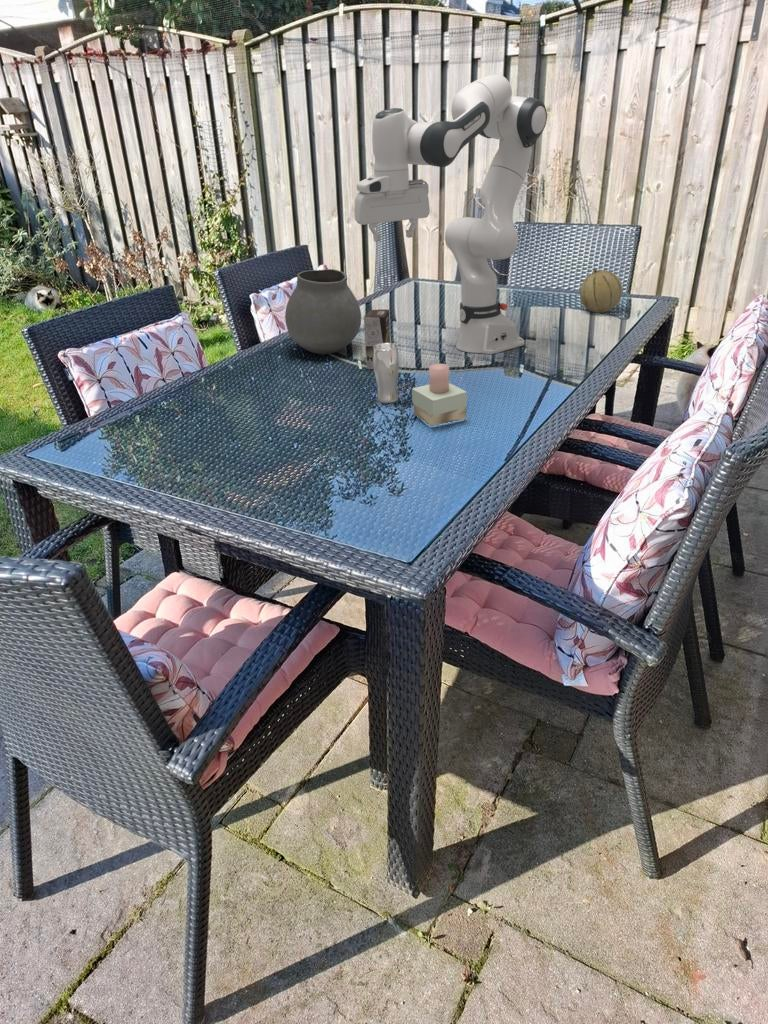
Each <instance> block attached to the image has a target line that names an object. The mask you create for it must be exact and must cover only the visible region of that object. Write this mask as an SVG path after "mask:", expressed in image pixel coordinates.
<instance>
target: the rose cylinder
mask: <svg viewBox="0 0 768 1024" xmlns="http://www.w3.org/2000/svg"><path fill="white" fill-rule="evenodd" d="M428 370H429V372H428V373H429V374H428V375H429V379H428V383H429V391H430V392H432V393H446V392H448V391H449V383H450V366H449V364H445V363H434V364H431V365H429V367H428Z"/></svg>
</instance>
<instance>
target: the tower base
mask: <svg viewBox="0 0 768 1024" xmlns="http://www.w3.org/2000/svg"><path fill="white" fill-rule="evenodd" d="M414 414H415V415H416V416H418V417H419V418H420V419H422V420H423V421H425V422H426V423H427V424H429V425H430V426H434V425H439V424H443V423H448V422H453V421H459V420H463V419H466V420H467V407H464V408H460V409H457V410H453V411H449V412H446V413H442V414H438V415H435V416H433V415H431V414H429V413H428V412H426V411H424V410H423V409H421V408H419V407H418V406H416V405H414V404H413V415H414ZM415 415H414V416H415ZM416 416H415V417H416ZM418 417H417V418H418ZM419 418H418V419H419ZM420 419H419V420H420ZM423 421H422V422H423Z"/></svg>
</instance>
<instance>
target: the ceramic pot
mask: <svg viewBox="0 0 768 1024" xmlns="http://www.w3.org/2000/svg"><path fill="white" fill-rule="evenodd" d="M296 276H297V278H296V286H295V288H294V289H293V291H292V293H291V295H290V296H289V299H288V301H287V302H286V306H285V316H284V317H285V318H284V320H285V325H286V329H287V331H288V335H289V336H290V338H291V339H292V340H293V341H294V342H295V343H296V344H297V345H299V346H300V347H301V348H302V349H305V350H306V351H308V352H309V353H312V354H316V355H331V354H334V353H338V352H340V351H341V350H343V349H344V348H345V347H347V346H348V345H350V344H351V343H352V341H353V340H354V339H355V338H356V337H357V335H359V331H360V329H361V325H362V311H361V308H360V305H359V302H358V300H357V298H356V296H355V295H354V293H353V292H352V290H351V289H350V287H349V285H348V276H347V273H345V272H344V271H341V270H338V269H333V268H325V269H318V270H317V269H316V270H315V269H310V270H304V271H301V272H299V273H297V275H296Z"/></svg>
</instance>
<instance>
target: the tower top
mask: <svg viewBox="0 0 768 1024" xmlns="http://www.w3.org/2000/svg"><path fill="white" fill-rule="evenodd" d="M467 399H468V391H466V390H464V389H462V388H460V387H458V386H457V385H454V384H452V383H450V382H449V391H448V392H446V393H432V392H430V391H429V384H425V385H424V384H423V385H421V386H417V387H412V388H411V402H412V404H413V406H414V405H416V406H418V407H419V408H421V409H423V410H424V411H426V412H428V413H429V414H431V415H433V416H435V415H438V414H442V413H446V412H449V411H453V410H457V409H460V408H464V407H466V408H467V407H468V406H467V405H468V402H467Z"/></svg>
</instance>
